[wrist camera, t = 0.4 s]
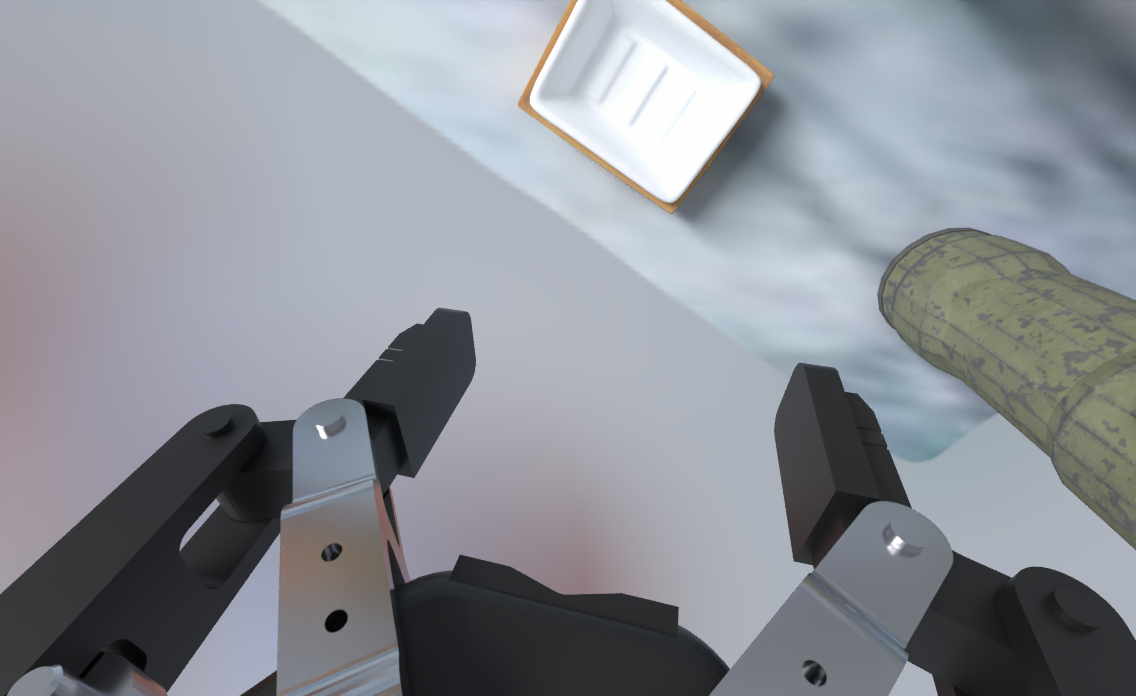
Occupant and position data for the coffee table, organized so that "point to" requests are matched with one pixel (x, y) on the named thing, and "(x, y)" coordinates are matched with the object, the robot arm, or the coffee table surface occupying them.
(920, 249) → the thermos
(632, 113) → the soap dish
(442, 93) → the coffee table surface
